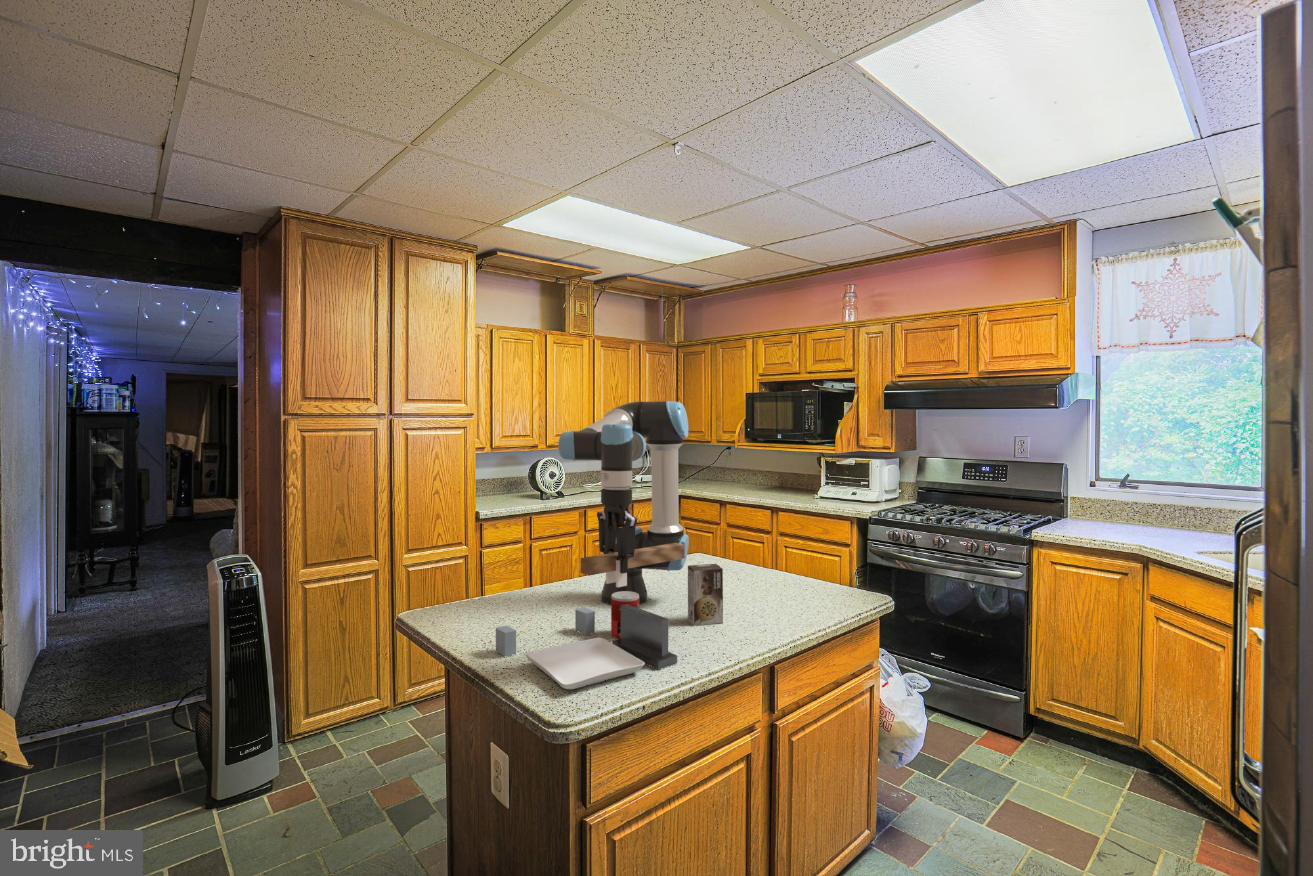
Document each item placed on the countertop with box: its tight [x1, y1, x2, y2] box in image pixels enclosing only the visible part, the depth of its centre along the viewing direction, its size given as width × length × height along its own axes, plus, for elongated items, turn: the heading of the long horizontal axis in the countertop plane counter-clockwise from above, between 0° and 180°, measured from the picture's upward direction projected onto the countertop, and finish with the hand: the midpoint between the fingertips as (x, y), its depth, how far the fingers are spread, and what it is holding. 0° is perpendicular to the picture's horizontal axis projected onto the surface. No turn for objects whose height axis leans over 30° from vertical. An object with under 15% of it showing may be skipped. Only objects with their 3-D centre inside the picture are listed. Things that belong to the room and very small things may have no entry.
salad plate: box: [525, 637, 646, 690], centre depth 145 cm, size 21×21×3 cm
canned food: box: [610, 591, 640, 640], centre depth 169 cm, size 8×8×11 cm
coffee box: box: [687, 563, 724, 626], centre depth 181 cm, size 9×6×16 cm
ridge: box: [611, 604, 678, 670], centre depth 154 cm, size 6×18×11 cm, turn 41°
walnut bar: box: [580, 543, 685, 576], centre depth 154 cm, size 30×4×4 cm, turn 130°
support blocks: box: [495, 607, 596, 657], centre depth 164 cm, size 27×5×6 cm, turn 131°
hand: (616, 584), depth 150 cm, fingers closed on walnut bar, 3 cm apart
